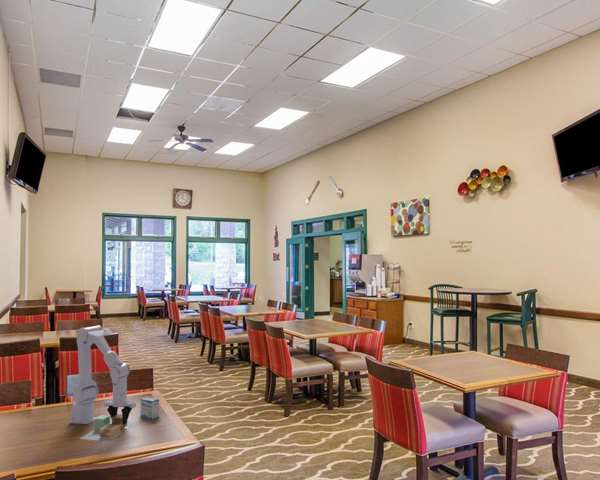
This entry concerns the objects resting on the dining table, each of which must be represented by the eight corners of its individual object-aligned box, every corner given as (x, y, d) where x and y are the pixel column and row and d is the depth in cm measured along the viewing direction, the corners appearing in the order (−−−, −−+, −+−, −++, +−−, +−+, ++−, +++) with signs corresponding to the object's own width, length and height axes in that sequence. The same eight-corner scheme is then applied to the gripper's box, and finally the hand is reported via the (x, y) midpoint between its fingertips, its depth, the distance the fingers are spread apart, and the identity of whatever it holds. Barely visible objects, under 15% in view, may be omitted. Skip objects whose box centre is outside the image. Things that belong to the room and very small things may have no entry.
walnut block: (111, 429, 202) (111, 417, 202) (117, 425, 206) (117, 413, 207) (121, 429, 201) (121, 418, 201) (126, 425, 205) (127, 414, 206)
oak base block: (99, 437, 195) (99, 428, 195) (108, 431, 201) (108, 423, 201) (112, 438, 194) (112, 429, 194) (120, 432, 199) (120, 424, 200)
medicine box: (140, 417, 220) (140, 399, 220) (147, 414, 223) (147, 396, 224) (152, 420, 216) (152, 401, 216) (159, 417, 220) (159, 398, 220)
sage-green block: (94, 430, 203) (94, 418, 203) (100, 426, 207) (100, 415, 207) (103, 430, 202) (103, 419, 202) (109, 427, 206) (109, 415, 206)
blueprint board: (79, 439, 193) (79, 438, 193) (110, 421, 215) (110, 420, 215) (111, 442, 190) (111, 441, 190) (139, 423, 212) (139, 422, 212)
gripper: (99, 394, 202) (99, 425, 202) (129, 395, 199) (129, 427, 199) (109, 389, 209) (109, 420, 208) (138, 391, 206) (138, 421, 206)
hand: (119, 423), depth 204 cm, fingers closed on walnut block, 4 cm apart
